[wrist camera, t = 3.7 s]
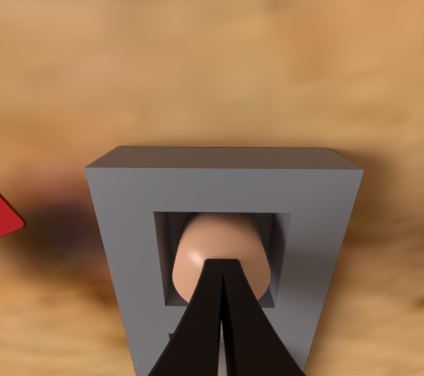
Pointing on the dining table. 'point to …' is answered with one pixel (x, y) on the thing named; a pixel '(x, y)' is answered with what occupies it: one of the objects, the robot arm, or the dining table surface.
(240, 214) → the light brown oval
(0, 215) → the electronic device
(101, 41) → the dining table surface
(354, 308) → the dining table surface
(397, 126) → the dining table surface
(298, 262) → the grey egg tray
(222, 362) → the white egg
